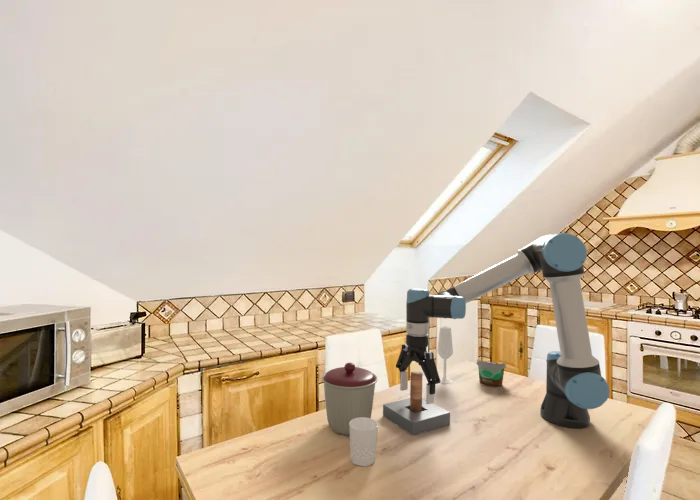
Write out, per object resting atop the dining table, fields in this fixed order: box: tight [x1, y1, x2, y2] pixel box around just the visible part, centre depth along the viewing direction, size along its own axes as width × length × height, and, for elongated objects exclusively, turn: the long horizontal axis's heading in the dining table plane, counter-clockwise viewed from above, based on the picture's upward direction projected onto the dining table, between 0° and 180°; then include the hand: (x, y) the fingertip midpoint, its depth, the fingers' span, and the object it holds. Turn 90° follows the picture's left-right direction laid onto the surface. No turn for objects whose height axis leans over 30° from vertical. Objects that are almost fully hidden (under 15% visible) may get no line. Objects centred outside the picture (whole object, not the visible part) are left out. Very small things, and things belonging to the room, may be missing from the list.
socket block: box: [382, 397, 451, 436], centre depth 130 cm, size 16×16×4 cm
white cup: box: [349, 417, 379, 467], centre depth 105 cm, size 8×8×10 cm
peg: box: [409, 370, 423, 413], centre depth 130 cm, size 4×4×16 cm
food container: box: [476, 359, 507, 388], centre depth 166 cm, size 12×6×10 cm, turn 62°
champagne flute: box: [437, 325, 454, 385], centre depth 170 cm, size 7×7×24 cm
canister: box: [321, 362, 379, 436], centre depth 124 cm, size 18×18×21 cm
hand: (416, 396), depth 130 cm, fingers open, 13 cm apart
